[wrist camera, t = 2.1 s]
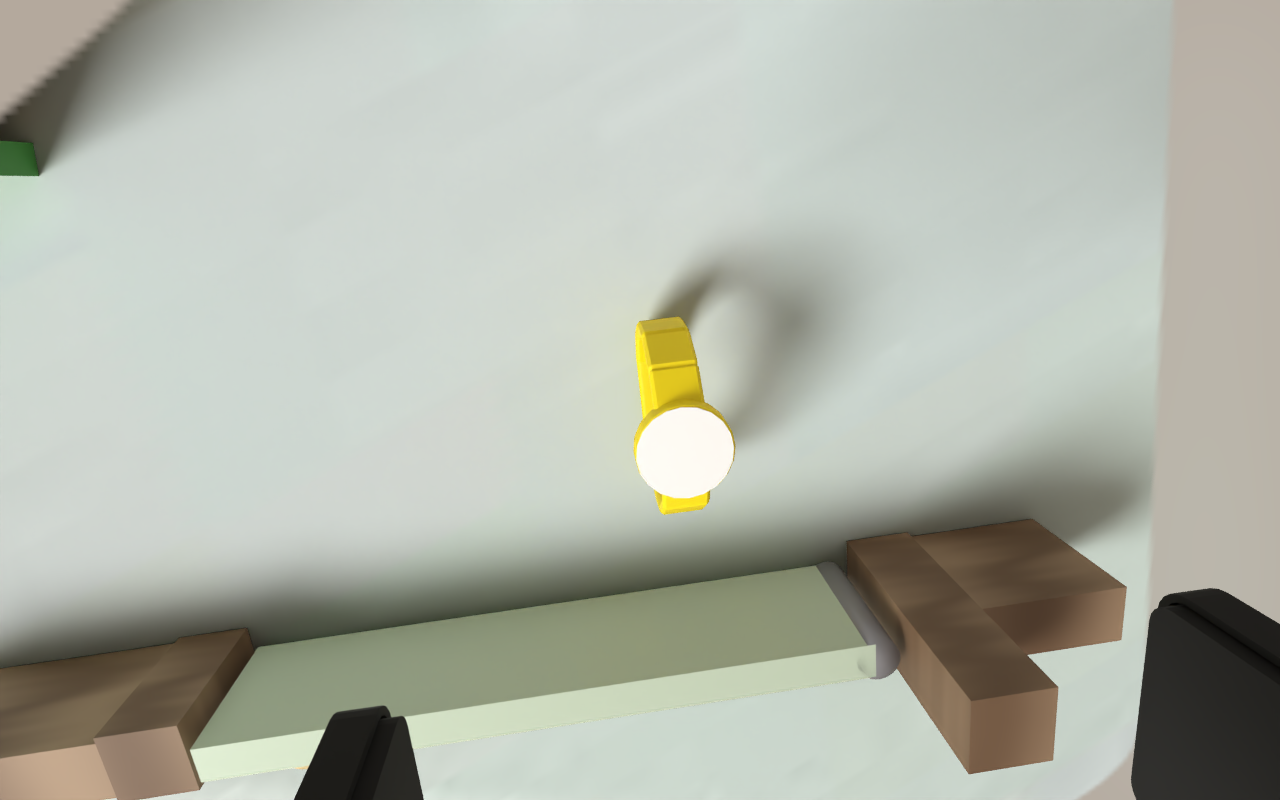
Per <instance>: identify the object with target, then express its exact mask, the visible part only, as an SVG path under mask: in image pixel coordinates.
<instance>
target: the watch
mask: <svg viewBox="0 0 1280 800" xmlns="http://www.w3.org/2000/svg"><path fill="white" fill-rule="evenodd" d="M635 340H636V359H637V368H638V377H639V387H640V396H641V405H642V414H643V420H642V421H641V423H640V425H639V427H638V430H637V432H636V434H635V438H634V455H635V460H636V463H637V467H638V470H639V473H640V474H641V476H642V477H643V479H644V480H645V481H646V483H647V484H648V485H649V486H650V487H652V488H653V489H654V492H655V496H656V500H657V504H658V507H659V510H660V512H661V513H662V514H664V515H665V514H672V513H679V512H687V511H694V510H701V509H703V508H704V507H705V506H706V505H707V503H708V502H709V499H710V490H711V489H713V488H714V487H716V486H717V485H718V484H719V483H720V482H721V481H722V480H723V479H724V478H725V476H726V475H727V474H728V472H729V470H730V468H731V465H732V463H733V461H734V454H735V441H734V437H733V433H732V430H731V429H730V427H729V425H728V424H727V422H726V421H725V419H724V418H723V416H722V415H721V413H720V412H719V411H717V410H716V409H715V408H713V407H712V406H711V405H709V404H708V403H705V402H704V396H703V390H702V384H701V378H700V372H699V367H698V366H697V358H696V354H695V350H694V347H693V343H692V339H691V335H690V332H689V329H688V328H687V326H686V325H685V323H684V321H683V320H682V319H681V318H680V317H671V318H662V319H654V320H646V321H639V323H638V324H637V327H636V332H635Z"/></svg>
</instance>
